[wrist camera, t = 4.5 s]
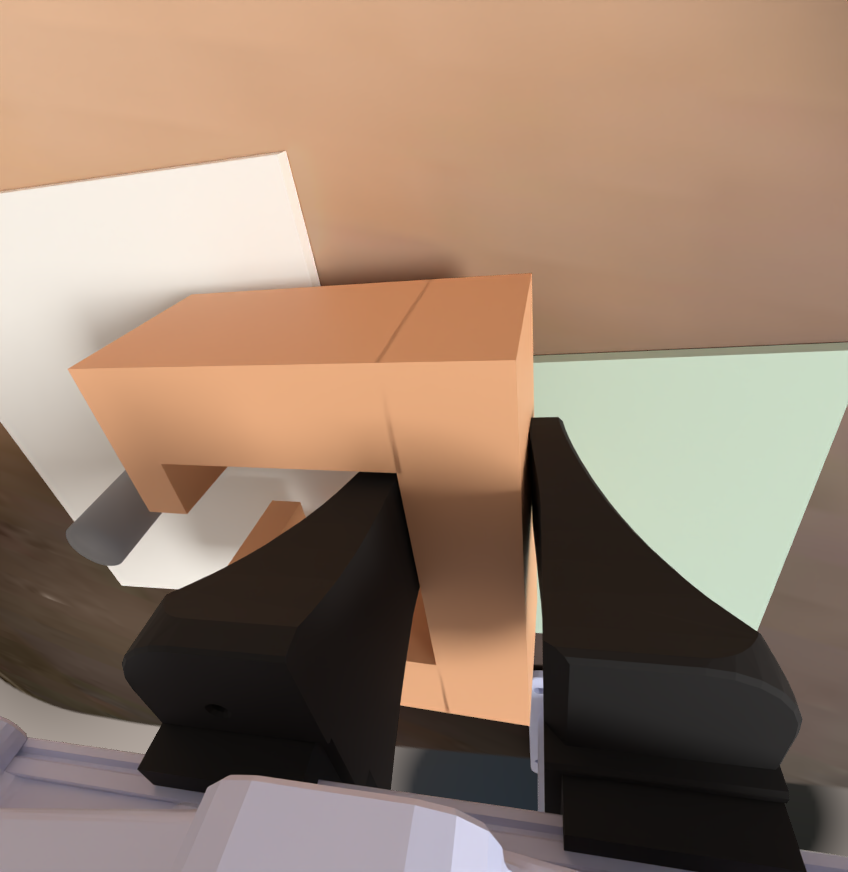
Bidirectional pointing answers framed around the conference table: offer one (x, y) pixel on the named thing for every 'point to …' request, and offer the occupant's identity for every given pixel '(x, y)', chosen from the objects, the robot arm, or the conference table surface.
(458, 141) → the conference table surface
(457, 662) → the c link
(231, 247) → the stand
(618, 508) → the mat
